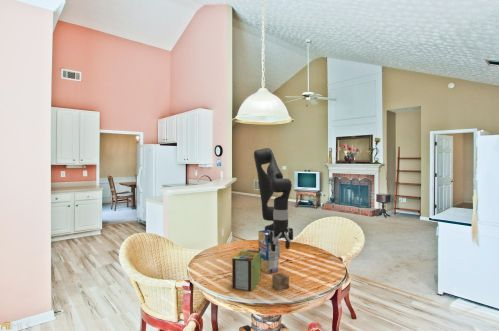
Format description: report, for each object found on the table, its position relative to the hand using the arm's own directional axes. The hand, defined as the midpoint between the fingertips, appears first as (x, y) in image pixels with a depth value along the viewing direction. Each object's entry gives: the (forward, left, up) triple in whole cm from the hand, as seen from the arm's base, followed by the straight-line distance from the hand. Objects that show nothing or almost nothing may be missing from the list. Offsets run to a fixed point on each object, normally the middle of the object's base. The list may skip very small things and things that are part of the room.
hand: (280, 249), depth 142 cm
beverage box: (-7, -22, -19) cm, 30 cm away
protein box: (+13, -12, -19) cm, 26 cm away
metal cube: (0, 0, -19) cm, 19 cm away
